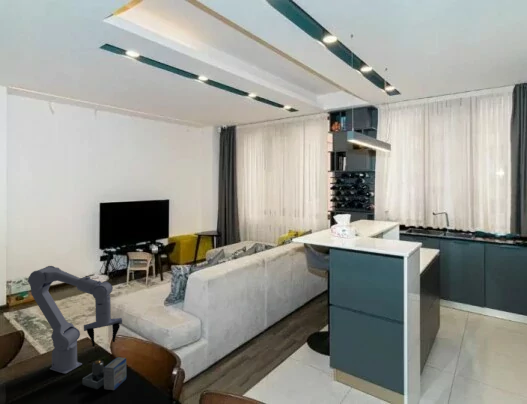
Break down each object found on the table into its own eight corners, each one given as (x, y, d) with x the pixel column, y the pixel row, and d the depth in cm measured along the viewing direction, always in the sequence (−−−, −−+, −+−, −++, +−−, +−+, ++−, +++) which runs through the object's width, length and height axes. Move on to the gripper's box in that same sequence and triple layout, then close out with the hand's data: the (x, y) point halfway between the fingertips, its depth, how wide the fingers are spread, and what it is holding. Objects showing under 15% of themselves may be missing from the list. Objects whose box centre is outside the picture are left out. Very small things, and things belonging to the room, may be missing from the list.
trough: (82, 384, 125) (82, 378, 125) (99, 374, 132) (99, 368, 132) (97, 389, 122) (96, 383, 122) (113, 378, 129) (113, 372, 129)
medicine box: (113, 391, 122) (113, 368, 121) (103, 389, 123) (103, 367, 122) (126, 379, 129) (126, 357, 129) (117, 377, 130) (116, 356, 130)
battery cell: (90, 383, 125) (90, 364, 125) (95, 377, 129) (95, 358, 129) (100, 383, 125) (100, 364, 125) (105, 377, 129) (105, 358, 129)
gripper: (120, 305, 144) (120, 335, 144) (83, 312, 136) (83, 343, 137) (122, 310, 138) (123, 342, 138) (83, 317, 130) (84, 350, 131)
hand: (103, 343), depth 137 cm, fingers open, 7 cm apart
